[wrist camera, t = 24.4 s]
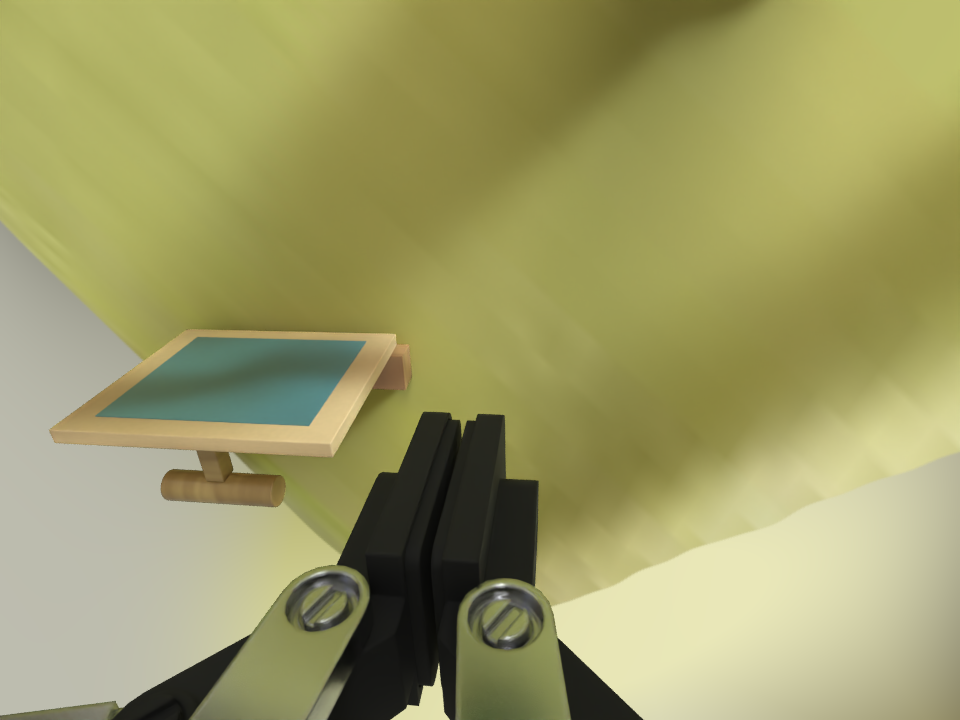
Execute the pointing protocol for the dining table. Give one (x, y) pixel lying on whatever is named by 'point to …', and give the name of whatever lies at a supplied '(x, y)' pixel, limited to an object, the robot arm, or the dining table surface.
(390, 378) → the frame foot
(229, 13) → the dining table surface
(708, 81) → the dining table surface
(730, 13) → the dining table surface
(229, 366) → the photo frame
